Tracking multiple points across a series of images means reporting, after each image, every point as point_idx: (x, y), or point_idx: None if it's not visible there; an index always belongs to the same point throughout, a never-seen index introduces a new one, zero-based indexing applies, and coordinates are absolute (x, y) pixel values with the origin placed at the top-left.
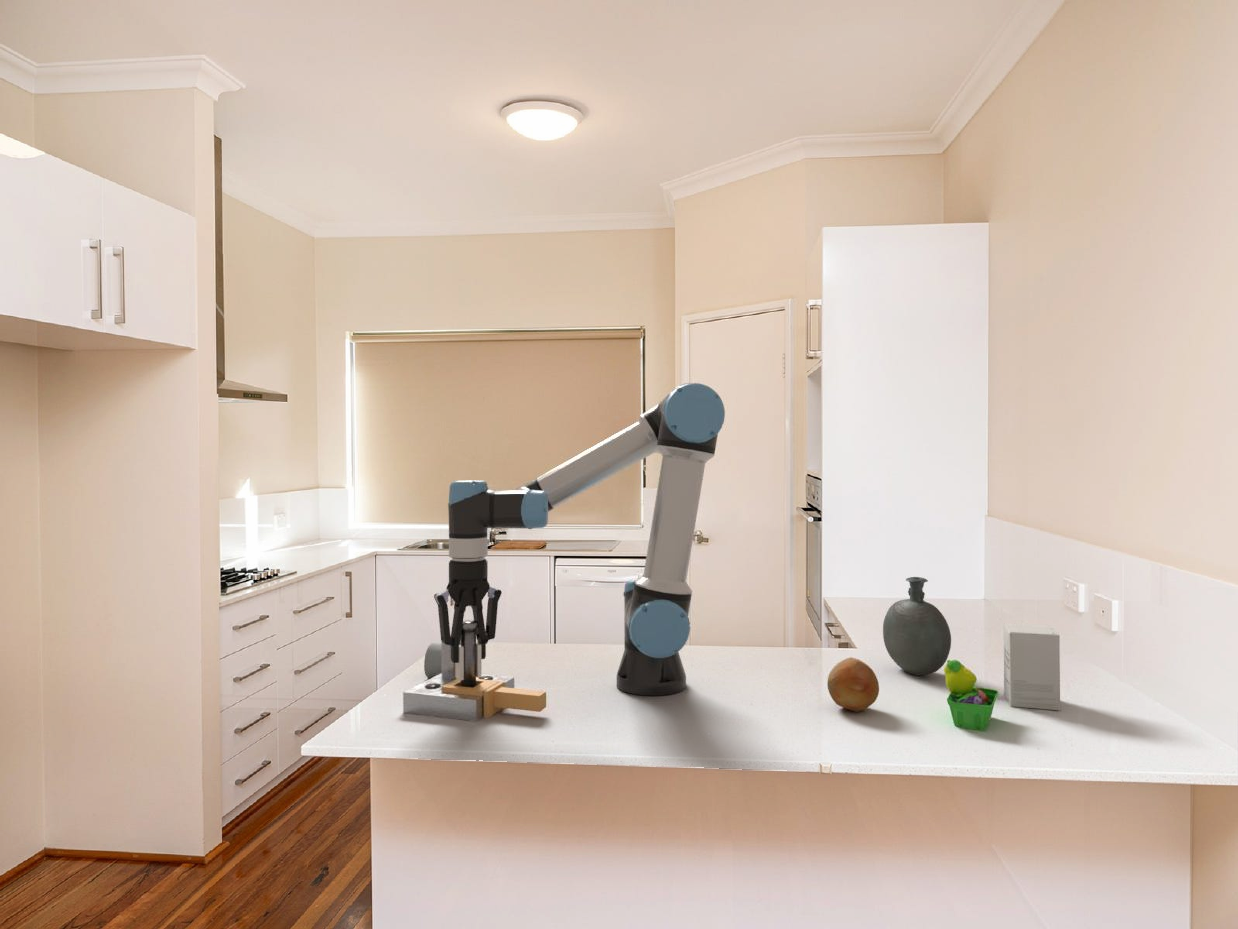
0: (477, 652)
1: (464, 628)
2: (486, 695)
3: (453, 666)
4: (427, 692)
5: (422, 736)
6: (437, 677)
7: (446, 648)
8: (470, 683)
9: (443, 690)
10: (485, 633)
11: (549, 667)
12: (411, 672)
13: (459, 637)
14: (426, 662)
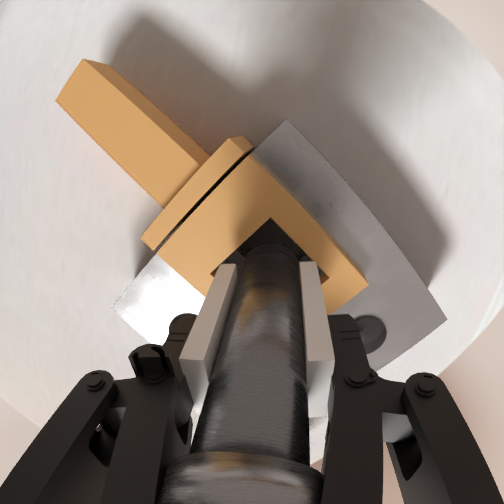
0: (214, 334)
1: (304, 476)
2: (237, 142)
3: None
4: (402, 288)
5: (444, 93)
6: None
7: None
8: (270, 253)
9: (361, 273)
10: (126, 409)
11: (68, 391)
12: None
13: (343, 416)
14: None
